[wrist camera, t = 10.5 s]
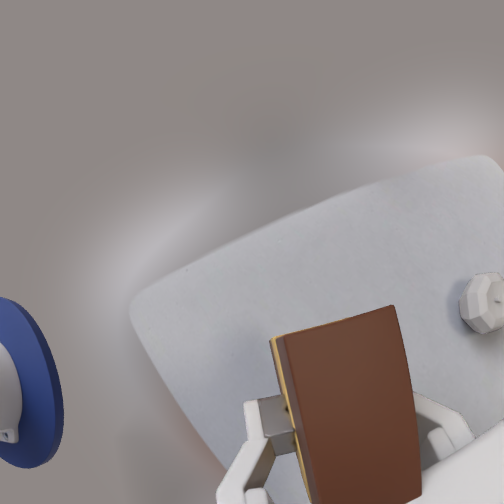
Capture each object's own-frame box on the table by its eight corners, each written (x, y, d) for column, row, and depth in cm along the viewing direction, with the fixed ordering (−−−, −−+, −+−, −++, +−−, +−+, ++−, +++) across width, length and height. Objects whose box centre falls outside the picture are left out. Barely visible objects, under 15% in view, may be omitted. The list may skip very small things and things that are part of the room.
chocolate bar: (290, 439, 14) (329, 559, 4) (267, 339, 16) (279, 333, 5) (332, 427, 14) (424, 522, 4) (311, 329, 16) (396, 300, 5)
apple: (442, 329, 30) (473, 324, 23) (452, 271, 32) (481, 256, 26) (482, 342, 29) (514, 339, 22) (491, 288, 31) (520, 277, 24)
